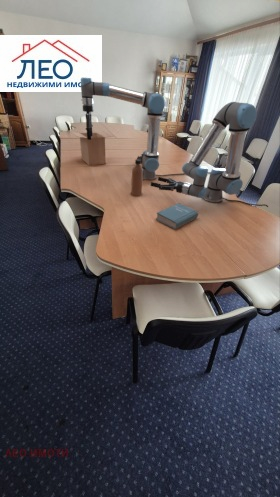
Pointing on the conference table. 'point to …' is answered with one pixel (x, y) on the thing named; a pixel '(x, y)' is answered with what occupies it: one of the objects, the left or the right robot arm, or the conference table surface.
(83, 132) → the box
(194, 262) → the conference table surface
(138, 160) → the cap
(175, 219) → the book
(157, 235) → the conference table surface
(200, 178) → the right robot arm
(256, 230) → the conference table surface
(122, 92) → the left robot arm
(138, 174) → the bottle
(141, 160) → the laser sight
